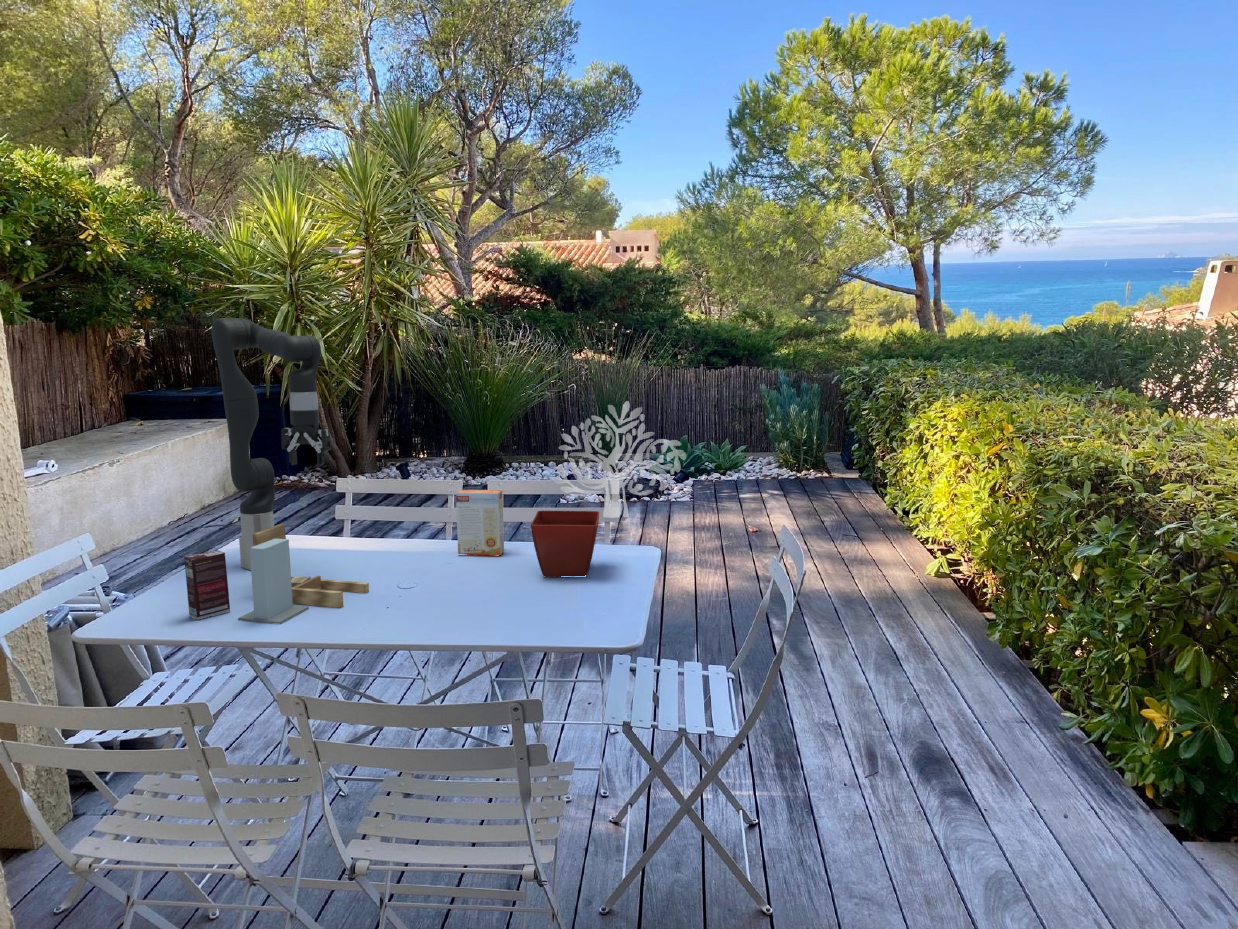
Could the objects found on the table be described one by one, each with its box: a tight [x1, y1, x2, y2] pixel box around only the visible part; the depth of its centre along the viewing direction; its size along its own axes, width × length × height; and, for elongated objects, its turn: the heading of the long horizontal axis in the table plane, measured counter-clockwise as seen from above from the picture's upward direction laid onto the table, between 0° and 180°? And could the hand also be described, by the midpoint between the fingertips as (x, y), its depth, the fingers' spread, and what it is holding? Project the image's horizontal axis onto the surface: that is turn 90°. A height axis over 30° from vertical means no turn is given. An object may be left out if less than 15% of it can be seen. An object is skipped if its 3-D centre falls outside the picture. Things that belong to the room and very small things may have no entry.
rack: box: [252, 523, 370, 609], centre depth 232 cm, size 26×14×18 cm, turn 76°
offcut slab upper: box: [291, 575, 312, 587], centre depth 235 cm, size 4×6×2 cm, turn 176°
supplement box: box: [183, 549, 231, 620], centre depth 217 cm, size 9×5×16 cm, turn 141°
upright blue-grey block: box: [250, 538, 294, 619], centre depth 217 cm, size 4×10×18 cm, turn 166°
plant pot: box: [530, 510, 600, 578], centre depth 256 cm, size 19×19×17 cm
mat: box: [237, 604, 310, 624], centre depth 218 cm, size 12×12×1 cm
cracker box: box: [455, 489, 505, 556], centre depth 275 cm, size 14×6×21 cm, turn 84°
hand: (307, 465), depth 242 cm, fingers open, 8 cm apart
